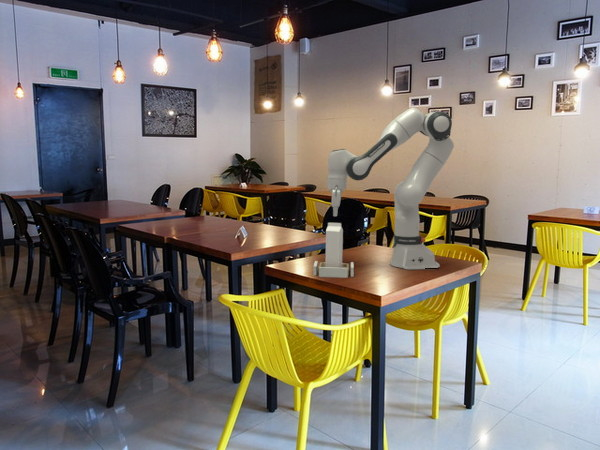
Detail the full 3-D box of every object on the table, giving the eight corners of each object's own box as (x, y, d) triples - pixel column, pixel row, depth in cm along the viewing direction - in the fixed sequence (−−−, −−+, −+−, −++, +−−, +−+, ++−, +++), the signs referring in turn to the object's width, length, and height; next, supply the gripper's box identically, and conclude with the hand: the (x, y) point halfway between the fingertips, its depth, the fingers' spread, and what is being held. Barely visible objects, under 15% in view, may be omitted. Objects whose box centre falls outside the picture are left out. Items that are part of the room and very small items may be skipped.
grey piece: (353, 270, 217) (353, 262, 216) (353, 278, 205) (353, 268, 204) (314, 269, 218) (315, 260, 218) (313, 276, 206) (313, 267, 206)
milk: (329, 270, 217) (329, 221, 214) (342, 272, 215) (343, 222, 212) (325, 273, 211) (325, 223, 208) (338, 275, 209) (339, 224, 206)
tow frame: (348, 263, 231) (348, 256, 230) (348, 276, 206) (348, 268, 206) (320, 263, 232) (321, 255, 231) (317, 276, 207) (318, 267, 207)
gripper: (343, 186, 213) (342, 218, 215) (343, 183, 233) (342, 212, 235) (329, 186, 214) (327, 217, 216) (330, 183, 234) (329, 211, 236)
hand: (335, 214), depth 226 cm, fingers open, 8 cm apart
